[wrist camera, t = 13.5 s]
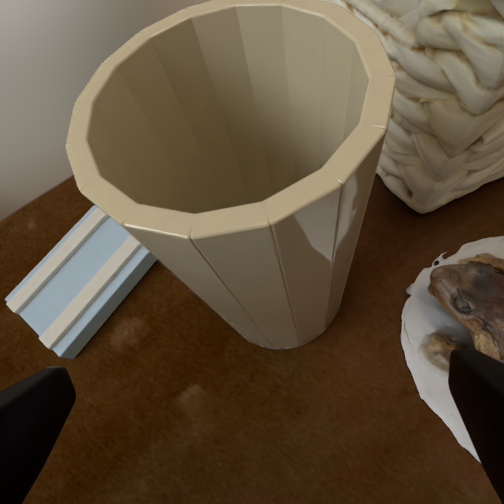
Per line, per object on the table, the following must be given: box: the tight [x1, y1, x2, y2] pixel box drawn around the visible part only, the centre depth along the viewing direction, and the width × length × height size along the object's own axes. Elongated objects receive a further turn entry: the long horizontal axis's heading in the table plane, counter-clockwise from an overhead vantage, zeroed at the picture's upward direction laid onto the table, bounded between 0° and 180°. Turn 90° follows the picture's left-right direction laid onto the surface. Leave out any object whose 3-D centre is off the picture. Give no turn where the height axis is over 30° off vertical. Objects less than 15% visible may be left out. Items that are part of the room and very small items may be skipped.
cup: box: [65, 0, 397, 349], centre depth 12 cm, size 7×7×13 cm
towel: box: [5, 205, 156, 359], centre depth 20 cm, size 10×6×2 cm, turn 144°
